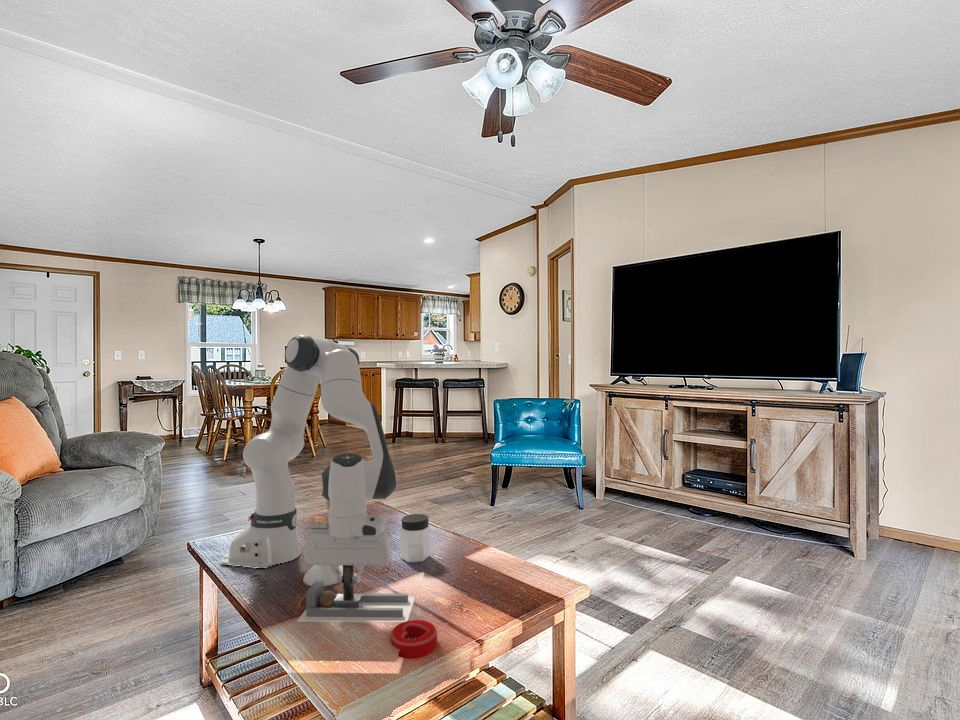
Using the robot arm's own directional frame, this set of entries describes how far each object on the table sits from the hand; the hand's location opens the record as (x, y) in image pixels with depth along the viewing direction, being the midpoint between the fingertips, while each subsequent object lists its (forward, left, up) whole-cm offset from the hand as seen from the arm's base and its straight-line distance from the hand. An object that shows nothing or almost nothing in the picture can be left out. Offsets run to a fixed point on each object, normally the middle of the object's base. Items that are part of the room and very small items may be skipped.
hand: (348, 582), depth 115 cm
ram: (0, 0, -6) cm, 6 cm away
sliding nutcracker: (+2, 0, -8) cm, 8 cm away
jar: (+10, +34, -8) cm, 36 cm away
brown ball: (-5, 0, -6) cm, 8 cm away
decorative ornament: (+17, -12, -8) cm, 23 cm away
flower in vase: (-11, +17, -8) cm, 21 cm away
